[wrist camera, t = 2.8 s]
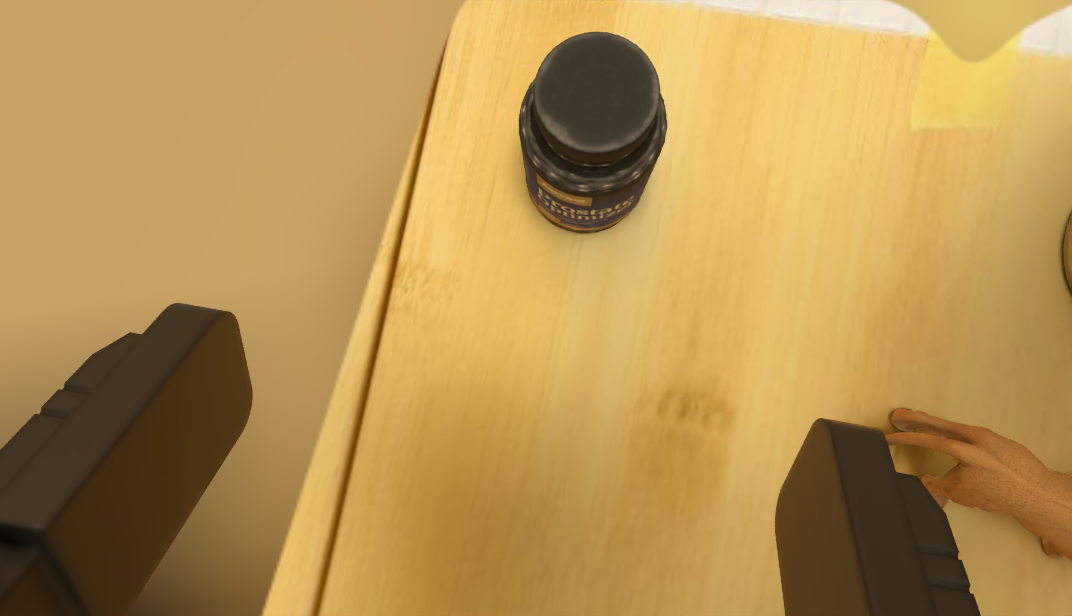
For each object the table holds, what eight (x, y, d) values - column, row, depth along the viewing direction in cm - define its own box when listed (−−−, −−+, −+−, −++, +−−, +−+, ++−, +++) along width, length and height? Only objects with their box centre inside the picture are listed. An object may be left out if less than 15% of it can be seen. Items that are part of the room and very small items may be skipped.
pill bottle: (529, 237, 37) (515, 177, 26) (523, 123, 38) (507, 17, 27) (649, 230, 37) (686, 166, 26) (641, 115, 38) (673, 6, 27)
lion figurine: (1156, 475, 35) (1360, 506, 26) (1135, 584, 34) (1335, 655, 26) (855, 392, 36) (951, 395, 27) (830, 498, 35) (920, 536, 26)
